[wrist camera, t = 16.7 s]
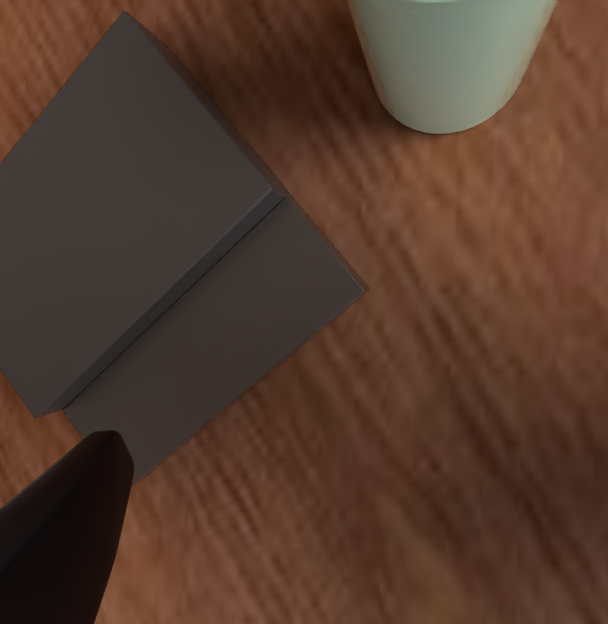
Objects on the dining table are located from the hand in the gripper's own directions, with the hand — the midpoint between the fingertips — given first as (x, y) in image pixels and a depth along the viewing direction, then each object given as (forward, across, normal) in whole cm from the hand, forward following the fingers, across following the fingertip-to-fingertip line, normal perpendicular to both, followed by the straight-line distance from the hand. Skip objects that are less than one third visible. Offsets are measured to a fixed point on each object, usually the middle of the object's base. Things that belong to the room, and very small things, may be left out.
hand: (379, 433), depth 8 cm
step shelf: (+14, +10, +4) cm, 17 cm away
